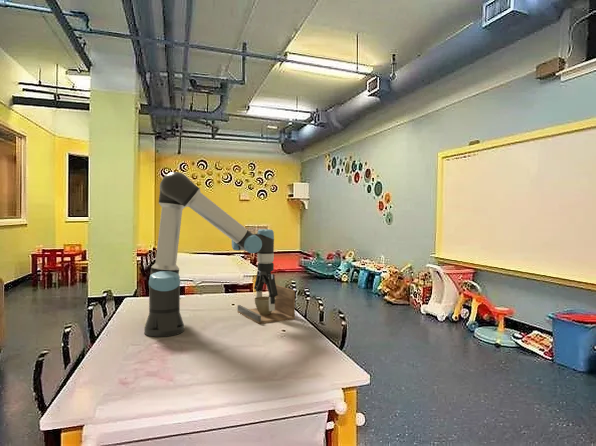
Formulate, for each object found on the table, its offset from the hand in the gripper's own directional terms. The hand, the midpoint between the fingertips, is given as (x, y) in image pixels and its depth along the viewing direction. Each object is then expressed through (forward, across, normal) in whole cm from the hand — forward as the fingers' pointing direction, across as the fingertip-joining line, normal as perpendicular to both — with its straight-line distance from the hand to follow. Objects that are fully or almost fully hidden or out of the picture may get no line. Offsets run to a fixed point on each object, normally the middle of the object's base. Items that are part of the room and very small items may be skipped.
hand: (265, 307), depth 194 cm
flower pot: (+3, 0, 0) cm, 3 cm away
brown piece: (+4, 0, 0) cm, 4 cm away
